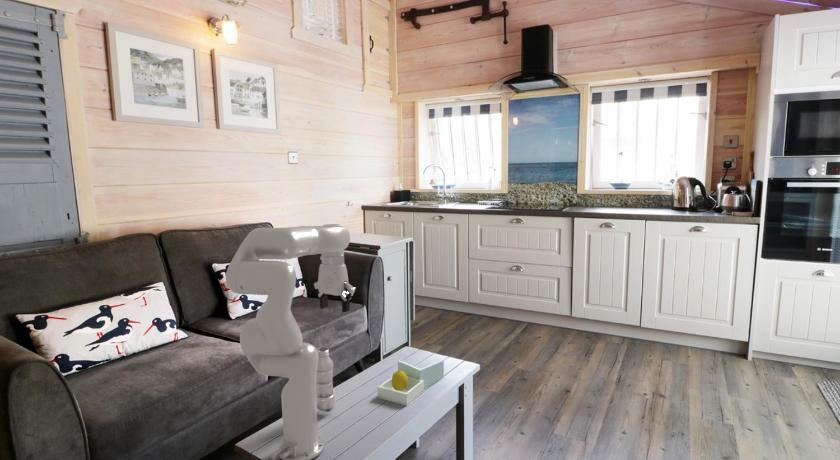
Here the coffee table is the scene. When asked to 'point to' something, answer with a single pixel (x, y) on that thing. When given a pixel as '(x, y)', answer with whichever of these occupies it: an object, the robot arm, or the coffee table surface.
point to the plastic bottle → (324, 381)
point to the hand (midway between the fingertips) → (334, 309)
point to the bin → (401, 397)
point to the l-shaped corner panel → (424, 372)
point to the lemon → (399, 380)
